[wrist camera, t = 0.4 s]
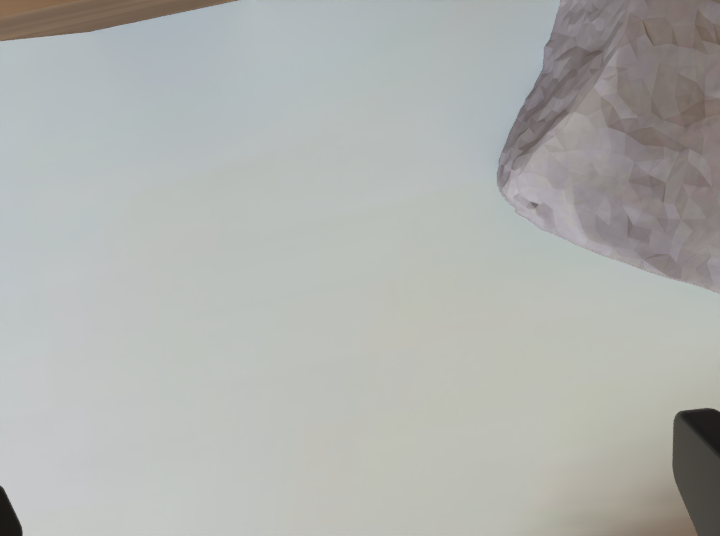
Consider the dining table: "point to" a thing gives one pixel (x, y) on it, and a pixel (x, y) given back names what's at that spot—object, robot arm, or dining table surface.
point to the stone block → (626, 136)
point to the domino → (83, 15)
